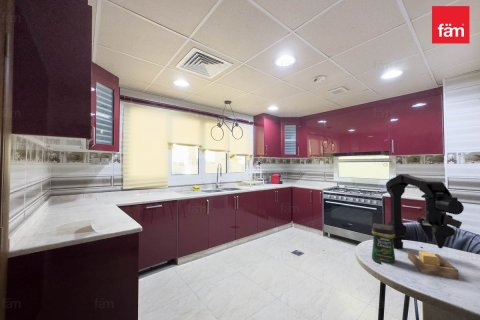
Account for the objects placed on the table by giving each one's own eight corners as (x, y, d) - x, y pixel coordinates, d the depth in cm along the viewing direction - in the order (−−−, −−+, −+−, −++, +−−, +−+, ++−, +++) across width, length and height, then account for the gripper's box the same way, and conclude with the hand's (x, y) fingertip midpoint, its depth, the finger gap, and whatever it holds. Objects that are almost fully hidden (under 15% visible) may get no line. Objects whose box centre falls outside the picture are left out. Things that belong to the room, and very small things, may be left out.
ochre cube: (423, 266, 94) (423, 255, 94) (419, 261, 98) (418, 251, 98) (437, 268, 92) (437, 257, 92) (432, 263, 96) (431, 252, 96)
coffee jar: (371, 262, 100) (371, 224, 101) (372, 256, 107) (371, 221, 107) (396, 267, 95) (395, 228, 95) (395, 261, 101) (394, 224, 102)
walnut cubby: (421, 275, 88) (421, 264, 88) (407, 259, 102) (407, 250, 102) (458, 281, 83) (458, 270, 83) (438, 264, 98) (438, 254, 98)
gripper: (472, 215, 78) (474, 256, 77) (445, 206, 95) (447, 240, 95) (435, 213, 82) (437, 251, 82) (416, 205, 99) (417, 236, 99)
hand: (435, 244), depth 89 cm, fingers open, 8 cm apart
